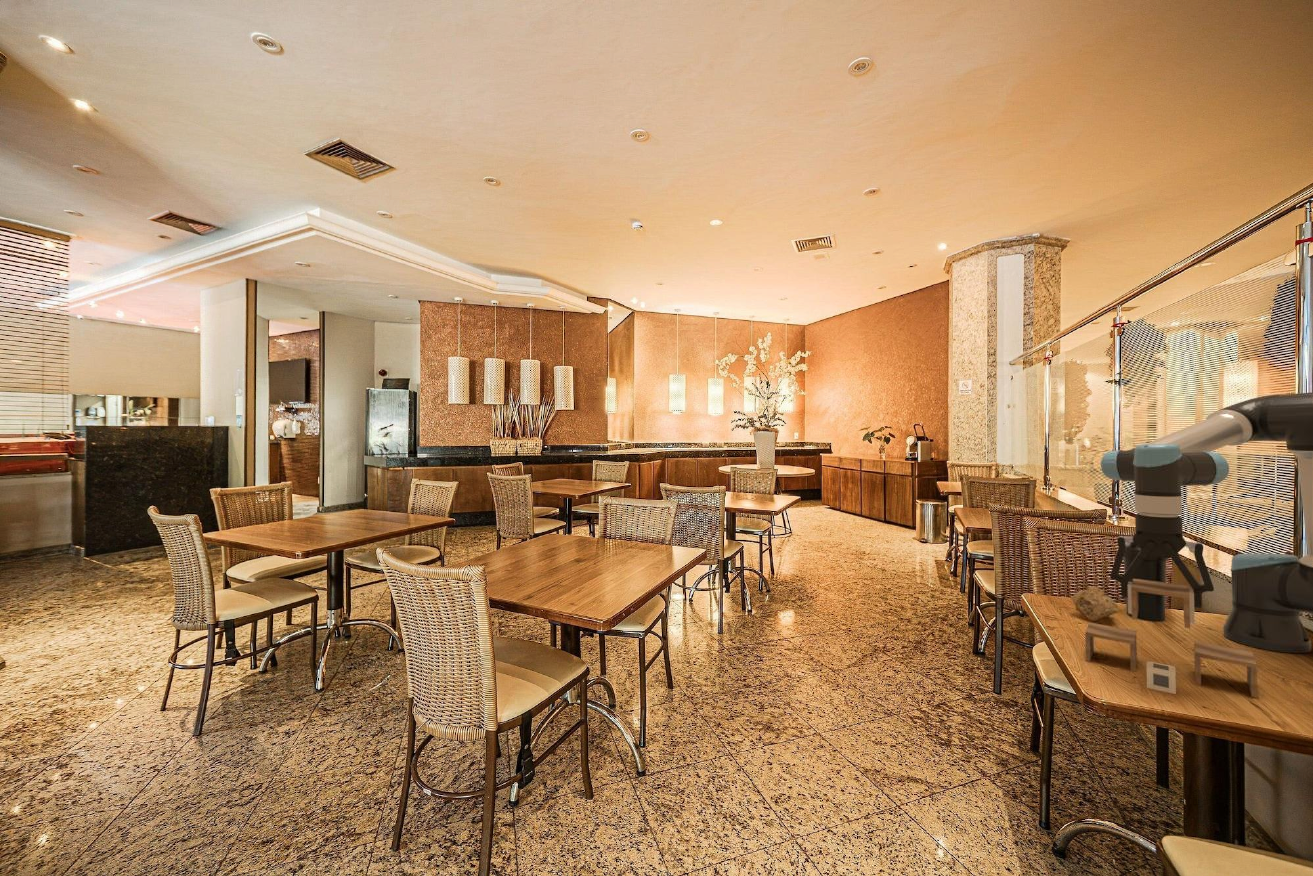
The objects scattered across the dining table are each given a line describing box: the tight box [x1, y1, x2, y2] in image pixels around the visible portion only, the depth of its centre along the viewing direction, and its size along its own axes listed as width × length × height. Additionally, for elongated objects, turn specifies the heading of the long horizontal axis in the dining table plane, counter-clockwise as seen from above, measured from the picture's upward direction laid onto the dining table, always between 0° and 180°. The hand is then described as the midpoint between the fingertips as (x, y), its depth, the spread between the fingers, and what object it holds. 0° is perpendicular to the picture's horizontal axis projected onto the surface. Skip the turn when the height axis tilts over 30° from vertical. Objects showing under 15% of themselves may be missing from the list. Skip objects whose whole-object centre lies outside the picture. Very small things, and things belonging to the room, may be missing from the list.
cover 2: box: [1131, 579, 1191, 629], centre depth 117 cm, size 9×9×7 cm
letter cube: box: [1146, 660, 1177, 695], centre depth 116 cm, size 5×4×5 cm
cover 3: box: [1193, 640, 1258, 698], centre depth 117 cm, size 9×9×7 cm
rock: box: [1070, 585, 1119, 622], centre depth 158 cm, size 12×10×10 cm
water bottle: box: [1123, 542, 1169, 623], centre depth 160 cm, size 10×10×23 cm
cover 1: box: [1084, 622, 1138, 672], centre depth 131 cm, size 9×9×7 cm
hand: (1160, 616), depth 117 cm, fingers closed on cover 2, 9 cm apart
